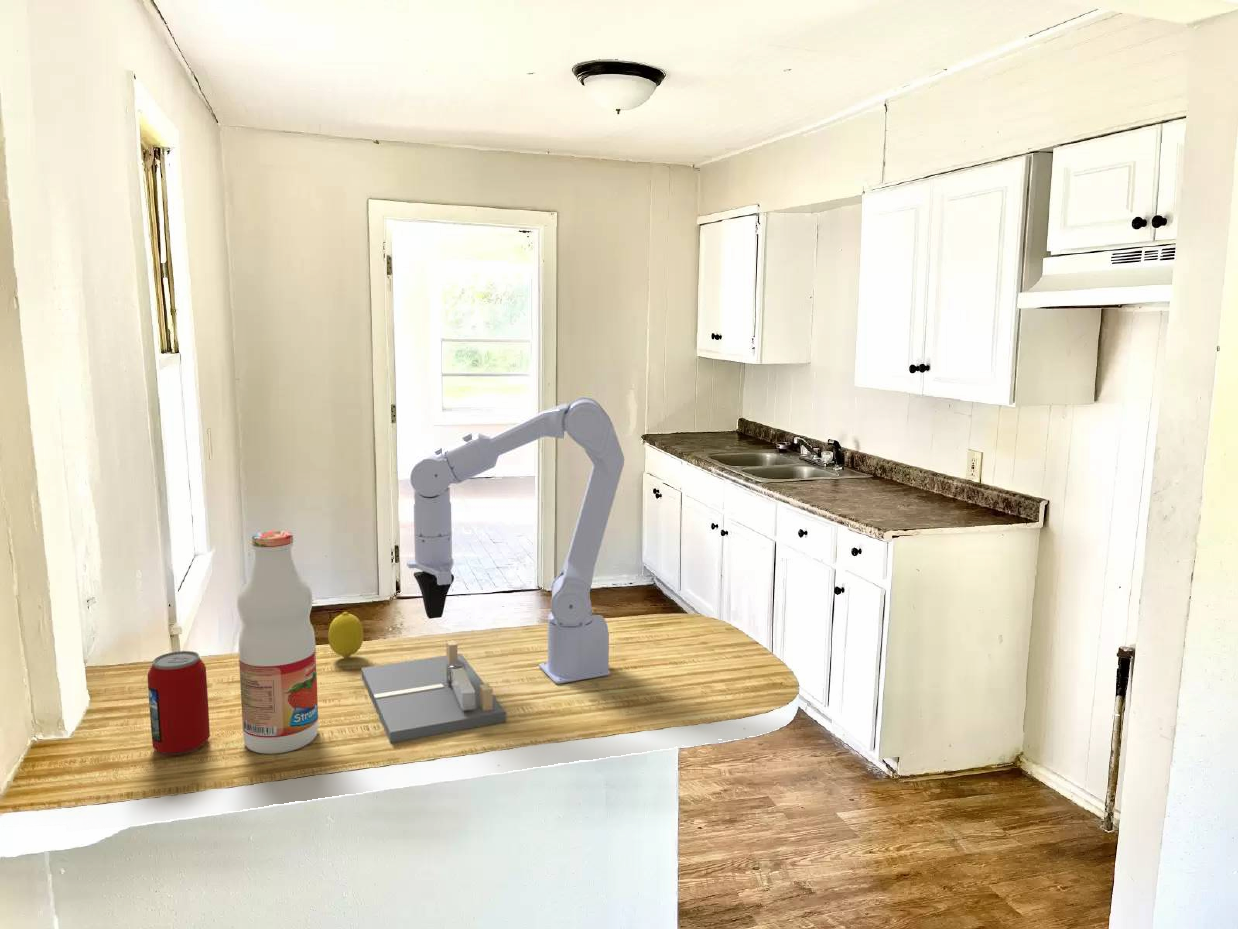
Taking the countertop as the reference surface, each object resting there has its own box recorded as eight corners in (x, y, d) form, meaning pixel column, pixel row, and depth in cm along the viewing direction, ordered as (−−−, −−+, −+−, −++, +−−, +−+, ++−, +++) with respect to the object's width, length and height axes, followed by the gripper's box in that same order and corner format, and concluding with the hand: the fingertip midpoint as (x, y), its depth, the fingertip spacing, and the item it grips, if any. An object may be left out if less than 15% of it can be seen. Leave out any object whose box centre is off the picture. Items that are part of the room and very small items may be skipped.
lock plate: (461, 662, 143) (460, 636, 142) (506, 721, 121) (505, 691, 121) (361, 677, 136) (360, 649, 135) (390, 743, 114) (389, 711, 114)
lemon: (353, 666, 140) (352, 619, 139) (322, 663, 141) (320, 616, 140) (370, 653, 146) (368, 608, 144) (340, 651, 147) (338, 605, 145)
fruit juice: (251, 726, 119) (240, 527, 114) (322, 720, 121) (315, 525, 116) (236, 759, 110) (224, 544, 105) (314, 752, 112) (305, 542, 107)
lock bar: (445, 678, 131) (444, 663, 130) (463, 676, 132) (463, 661, 131) (459, 711, 120) (458, 694, 119) (479, 708, 121) (478, 691, 120)
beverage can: (166, 734, 116) (160, 649, 114) (218, 733, 116) (213, 648, 115) (143, 759, 109) (136, 669, 107) (198, 758, 110) (192, 668, 108)
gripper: (397, 525, 139) (399, 606, 141) (417, 546, 126) (419, 634, 128) (441, 521, 142) (442, 601, 144) (464, 541, 129) (465, 628, 131)
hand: (434, 616), depth 136 cm, fingers closed
